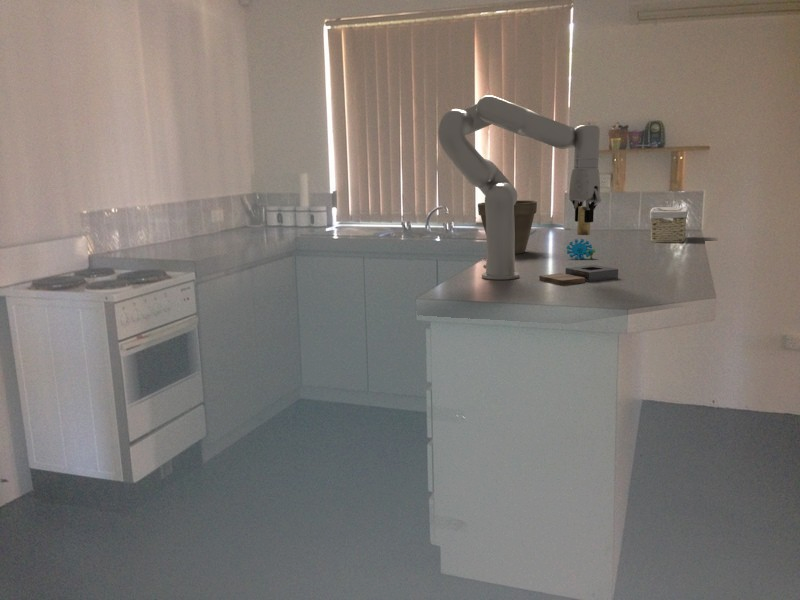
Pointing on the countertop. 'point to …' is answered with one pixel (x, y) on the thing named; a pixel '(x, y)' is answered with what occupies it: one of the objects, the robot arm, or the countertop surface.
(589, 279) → the grey square frame
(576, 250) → the gear
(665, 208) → the storage basket
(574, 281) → the board
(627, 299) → the countertop surface
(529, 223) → the plant pot
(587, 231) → the key peg
